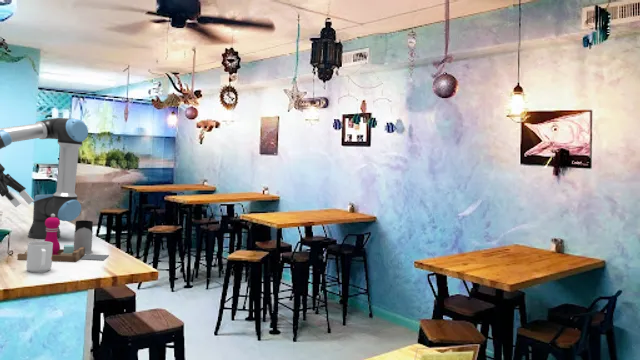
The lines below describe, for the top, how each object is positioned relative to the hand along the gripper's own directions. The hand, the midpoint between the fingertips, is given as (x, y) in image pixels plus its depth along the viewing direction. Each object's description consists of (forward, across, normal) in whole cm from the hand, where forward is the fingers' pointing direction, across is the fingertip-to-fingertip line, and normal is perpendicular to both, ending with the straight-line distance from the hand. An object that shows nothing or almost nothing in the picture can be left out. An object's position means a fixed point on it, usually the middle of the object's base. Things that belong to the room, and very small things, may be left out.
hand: (25, 203), depth 215 cm
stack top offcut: (+29, +1, 0) cm, 29 cm away
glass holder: (+31, -15, -1) cm, 35 cm away
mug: (+29, +25, -5) cm, 39 cm away
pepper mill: (+26, +1, -8) cm, 27 cm away
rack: (+26, +1, -7) cm, 27 cm away
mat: (+38, -2, +6) cm, 38 cm away
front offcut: (+20, +1, -13) cm, 24 cm away
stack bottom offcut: (+31, +1, -2) cm, 31 cm away
